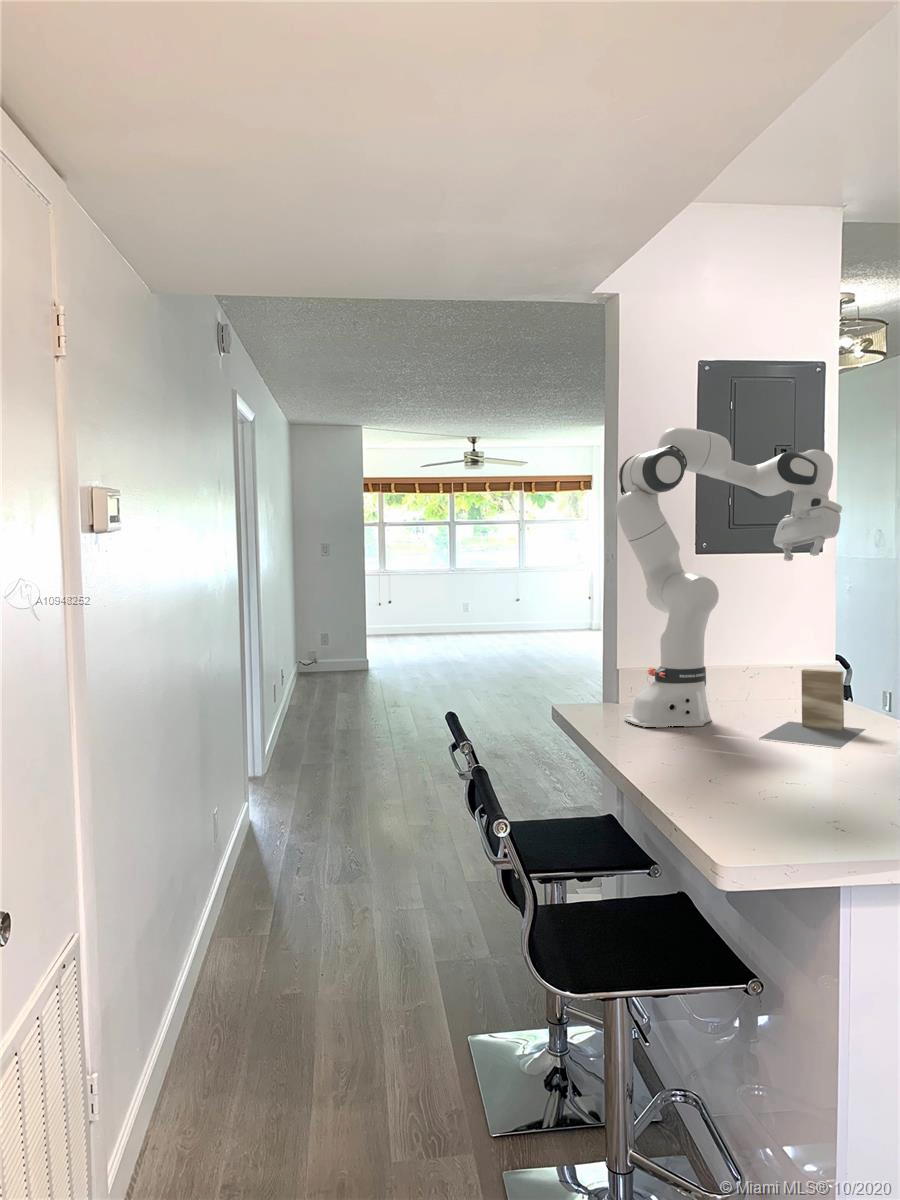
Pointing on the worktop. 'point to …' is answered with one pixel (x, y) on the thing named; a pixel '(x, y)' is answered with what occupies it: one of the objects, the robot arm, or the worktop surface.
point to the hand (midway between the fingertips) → (800, 557)
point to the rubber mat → (812, 735)
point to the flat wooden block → (822, 699)
